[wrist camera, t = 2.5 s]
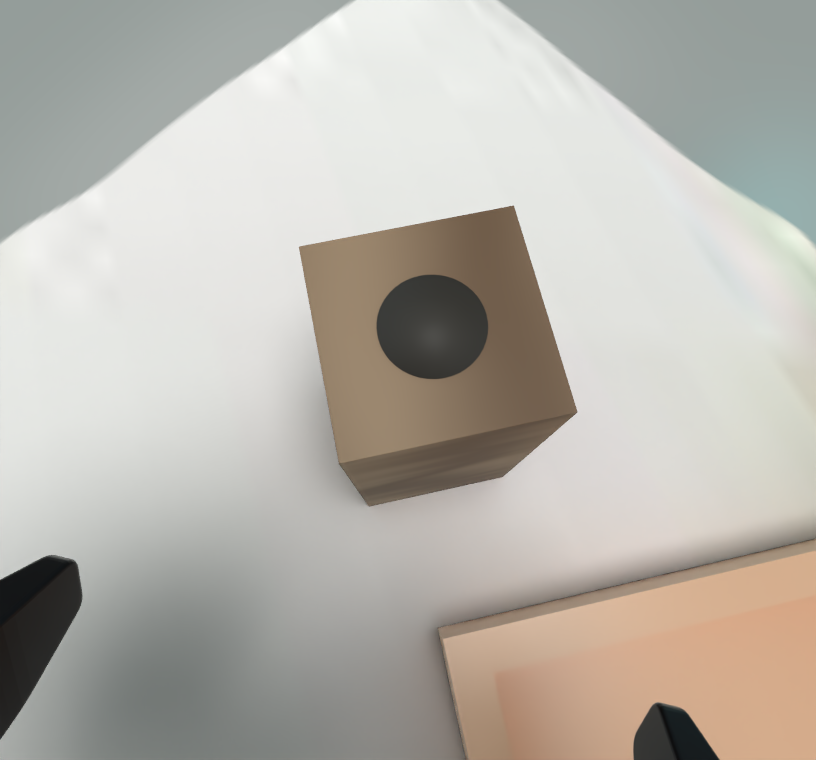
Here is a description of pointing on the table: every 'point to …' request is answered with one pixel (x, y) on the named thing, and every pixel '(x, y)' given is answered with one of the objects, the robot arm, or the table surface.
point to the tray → (647, 664)
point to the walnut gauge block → (434, 353)
